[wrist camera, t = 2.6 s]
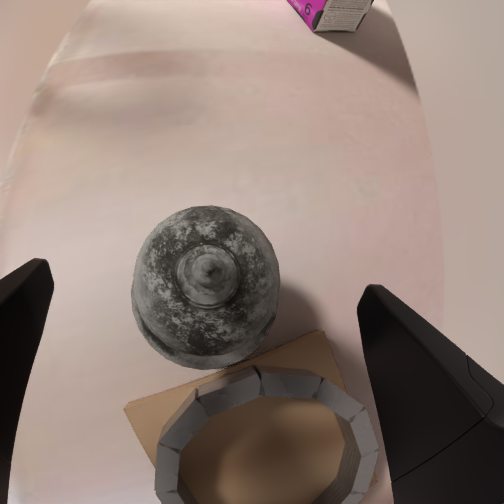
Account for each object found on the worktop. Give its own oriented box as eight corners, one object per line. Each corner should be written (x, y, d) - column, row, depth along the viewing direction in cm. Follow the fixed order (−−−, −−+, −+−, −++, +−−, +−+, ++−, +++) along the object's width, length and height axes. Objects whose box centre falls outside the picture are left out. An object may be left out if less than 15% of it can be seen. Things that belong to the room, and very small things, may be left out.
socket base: (368, 474, 15) (394, 495, 12) (212, 539, 13) (215, 571, 10) (315, 329, 16) (341, 333, 13) (128, 402, 14) (113, 422, 11)
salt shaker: (275, 261, 17) (420, 160, 5) (243, 370, 15) (340, 495, 4) (167, 226, 16) (111, 58, 4) (132, 335, 15) (-18, 383, 3)
